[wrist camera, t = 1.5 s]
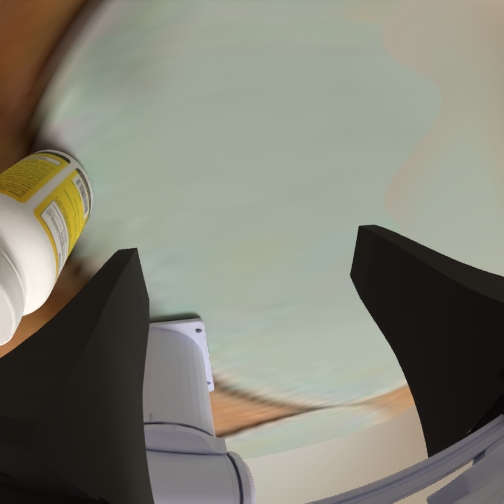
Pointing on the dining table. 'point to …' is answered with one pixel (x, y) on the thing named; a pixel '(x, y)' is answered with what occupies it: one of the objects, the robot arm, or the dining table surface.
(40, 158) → the pill bottle
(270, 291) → the dining table surface
